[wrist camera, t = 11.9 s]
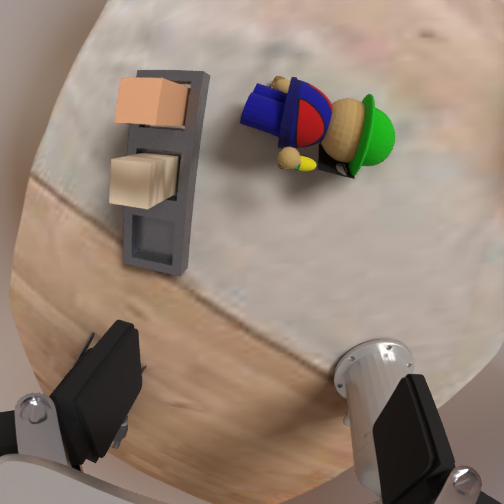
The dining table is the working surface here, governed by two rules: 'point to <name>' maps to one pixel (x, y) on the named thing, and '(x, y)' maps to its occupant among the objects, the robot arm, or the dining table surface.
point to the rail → (180, 204)
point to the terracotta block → (151, 102)
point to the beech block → (143, 179)
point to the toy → (320, 127)
